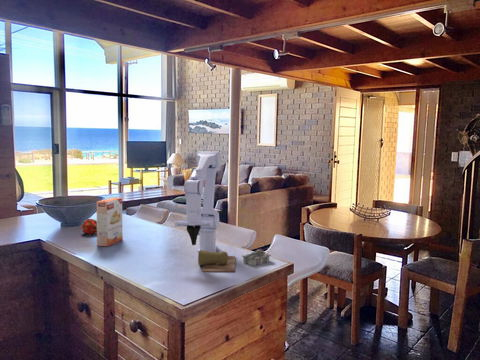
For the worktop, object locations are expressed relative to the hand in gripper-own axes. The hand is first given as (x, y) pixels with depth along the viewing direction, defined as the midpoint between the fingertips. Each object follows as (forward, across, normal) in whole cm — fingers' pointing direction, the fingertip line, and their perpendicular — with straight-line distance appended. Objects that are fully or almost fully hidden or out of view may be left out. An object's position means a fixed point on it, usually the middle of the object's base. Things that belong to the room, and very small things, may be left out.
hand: (194, 244), depth 152 cm
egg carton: (+8, +25, +4) cm, 27 cm away
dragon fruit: (+8, -59, +49) cm, 77 cm away
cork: (+5, +2, -1) cm, 6 cm away
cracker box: (+8, -43, +31) cm, 54 cm away
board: (+8, +10, 0) cm, 13 cm away
